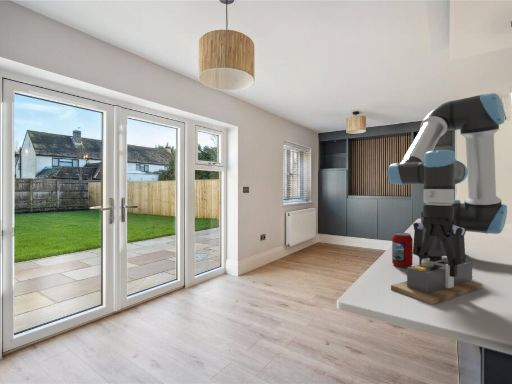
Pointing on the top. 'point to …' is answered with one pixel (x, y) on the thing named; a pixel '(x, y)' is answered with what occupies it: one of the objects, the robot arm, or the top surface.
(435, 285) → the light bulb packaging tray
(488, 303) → the top surface
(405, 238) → the beverage can
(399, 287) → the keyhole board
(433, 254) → the electronic device
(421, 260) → the robot arm
